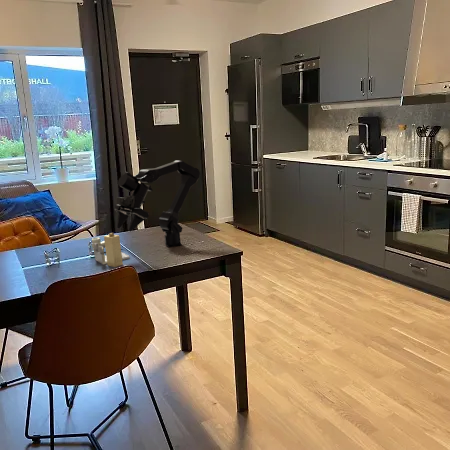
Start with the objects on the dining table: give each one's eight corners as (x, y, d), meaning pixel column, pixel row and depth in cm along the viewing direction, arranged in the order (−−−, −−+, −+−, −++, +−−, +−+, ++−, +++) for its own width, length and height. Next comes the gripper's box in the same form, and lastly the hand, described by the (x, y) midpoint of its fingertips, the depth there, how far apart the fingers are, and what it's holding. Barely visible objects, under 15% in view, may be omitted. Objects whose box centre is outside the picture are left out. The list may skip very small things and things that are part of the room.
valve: (92, 254, 214) (119, 251, 217) (90, 240, 213) (118, 237, 216) (93, 251, 221) (119, 247, 223) (91, 237, 219) (117, 234, 222)
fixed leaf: (121, 254, 212) (119, 237, 211) (129, 258, 205) (127, 241, 203) (94, 260, 206) (92, 243, 204) (101, 264, 198) (99, 247, 197)
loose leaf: (115, 262, 200) (111, 231, 197) (123, 264, 197) (119, 232, 194) (107, 265, 197) (103, 233, 194) (115, 267, 194) (111, 235, 191)
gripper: (112, 186, 206) (97, 219, 204) (135, 190, 193) (120, 225, 190) (131, 197, 214) (117, 229, 211) (155, 201, 200) (141, 235, 198)
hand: (123, 229), depth 202 cm, fingers open, 9 cm apart
